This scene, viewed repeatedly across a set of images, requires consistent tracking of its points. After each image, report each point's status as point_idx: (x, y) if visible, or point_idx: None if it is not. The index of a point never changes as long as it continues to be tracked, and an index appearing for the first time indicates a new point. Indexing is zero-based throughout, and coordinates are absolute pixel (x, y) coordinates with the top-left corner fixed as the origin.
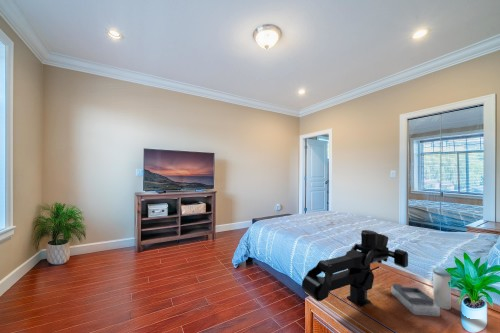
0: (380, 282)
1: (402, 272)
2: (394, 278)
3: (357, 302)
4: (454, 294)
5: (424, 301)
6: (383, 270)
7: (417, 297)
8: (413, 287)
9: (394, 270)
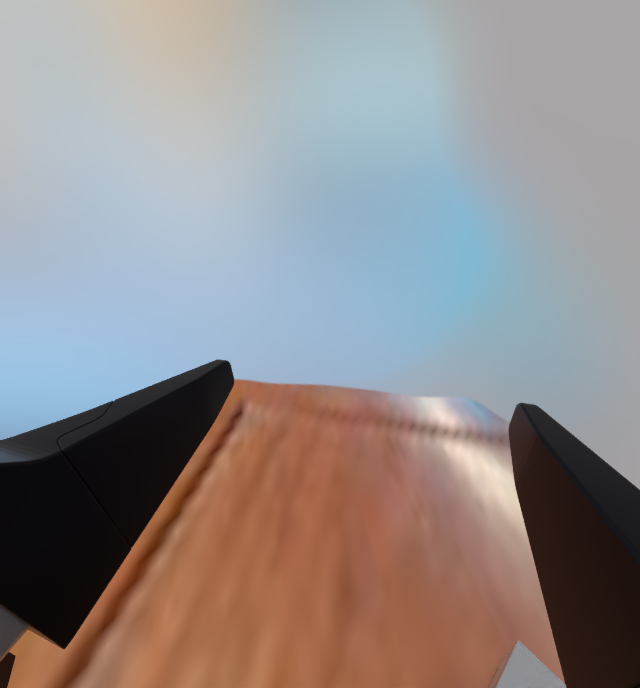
0: (262, 632)
1: (337, 395)
2: (325, 479)
3: None
4: None
5: None
6: (265, 429)
7: None
8: (522, 648)
9: (307, 398)
